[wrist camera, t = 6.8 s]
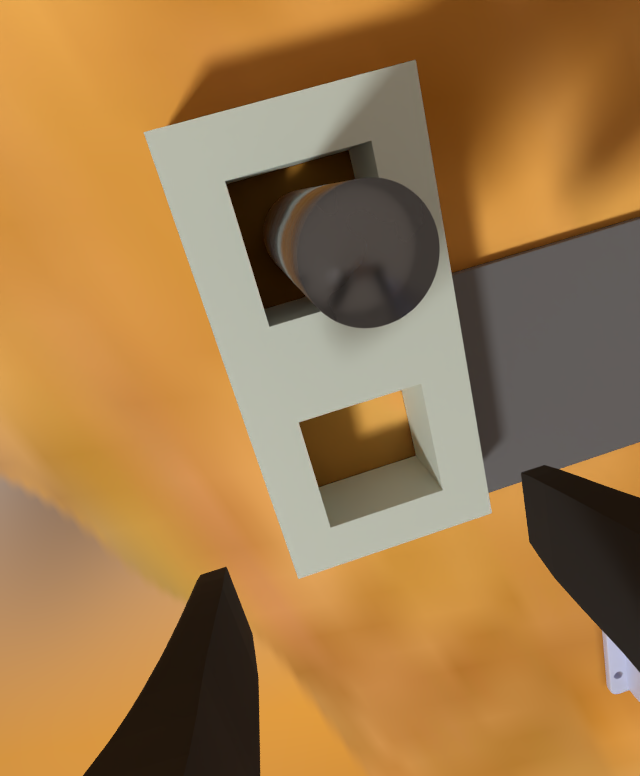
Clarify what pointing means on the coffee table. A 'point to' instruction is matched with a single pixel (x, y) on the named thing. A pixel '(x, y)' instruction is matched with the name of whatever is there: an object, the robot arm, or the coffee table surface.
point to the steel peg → (356, 248)
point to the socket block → (330, 320)
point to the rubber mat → (554, 351)
